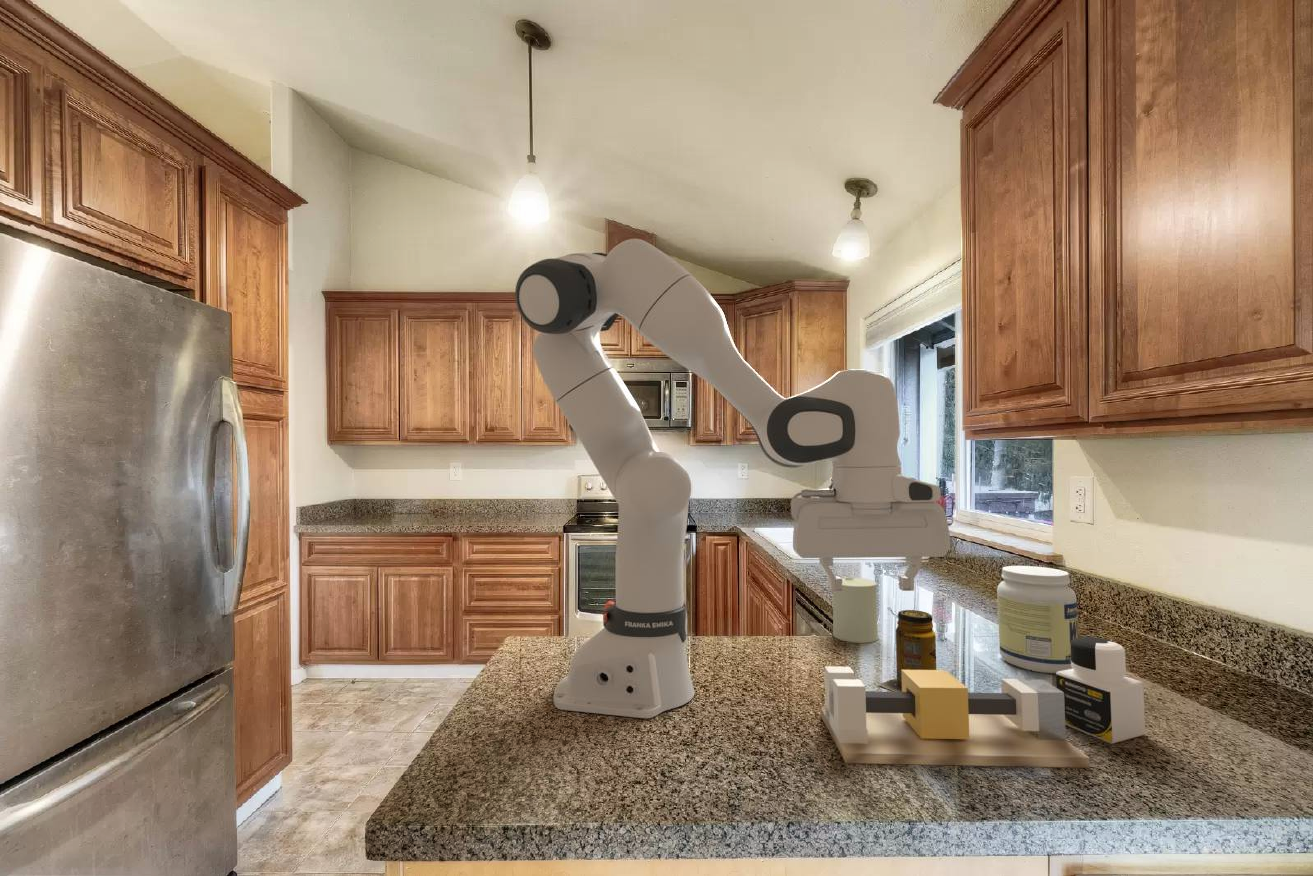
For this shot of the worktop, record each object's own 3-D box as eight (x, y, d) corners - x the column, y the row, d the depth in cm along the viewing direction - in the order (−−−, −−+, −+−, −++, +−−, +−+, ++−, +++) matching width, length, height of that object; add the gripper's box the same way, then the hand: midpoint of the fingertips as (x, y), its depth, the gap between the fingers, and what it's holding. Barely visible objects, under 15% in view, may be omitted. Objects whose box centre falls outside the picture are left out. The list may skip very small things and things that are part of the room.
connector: (1038, 740, 73) (1036, 692, 74) (1018, 724, 78) (1017, 679, 78) (1066, 740, 73) (1064, 692, 74) (1044, 724, 78) (1042, 679, 78)
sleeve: (921, 738, 73) (919, 687, 74) (902, 716, 80) (901, 669, 80) (969, 739, 73) (967, 688, 73) (946, 717, 79) (945, 670, 80)
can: (867, 629, 127) (865, 574, 127) (886, 642, 117) (884, 583, 118) (826, 630, 126) (825, 575, 127) (842, 643, 117) (841, 584, 117)
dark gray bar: (837, 712, 76) (836, 697, 76) (833, 706, 78) (833, 691, 78) (1039, 715, 75) (1038, 699, 75) (1030, 708, 77) (1029, 693, 77)
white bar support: (839, 743, 73) (838, 687, 73) (824, 715, 81) (823, 665, 81) (867, 743, 73) (866, 687, 73) (850, 716, 81) (848, 665, 81)
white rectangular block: (1023, 730, 73) (1021, 692, 74) (1002, 714, 78) (1001, 678, 78) (1039, 731, 73) (1037, 692, 74) (1017, 714, 78) (1016, 678, 78)
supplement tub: (1085, 680, 96) (1080, 579, 97) (1000, 668, 102) (997, 573, 103) (1074, 658, 107) (1070, 567, 108) (998, 649, 113) (995, 562, 114)
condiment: (948, 689, 93) (946, 614, 94) (918, 701, 89) (916, 623, 89) (907, 675, 99) (905, 605, 100) (877, 686, 95) (875, 613, 95)
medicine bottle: (1056, 722, 81) (1053, 636, 82) (1090, 714, 84) (1086, 630, 84) (1112, 745, 74) (1107, 651, 75) (1146, 735, 77) (1142, 645, 77)
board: (845, 763, 71) (845, 753, 71) (821, 716, 84) (820, 708, 84) (1089, 767, 69) (1089, 757, 69) (1026, 719, 82) (1026, 711, 82)
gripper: (794, 490, 76) (797, 596, 75) (953, 487, 75) (957, 595, 74) (786, 488, 82) (789, 585, 81) (932, 485, 81) (937, 584, 80)
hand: (870, 590), depth 78 cm, fingers open, 8 cm apart
